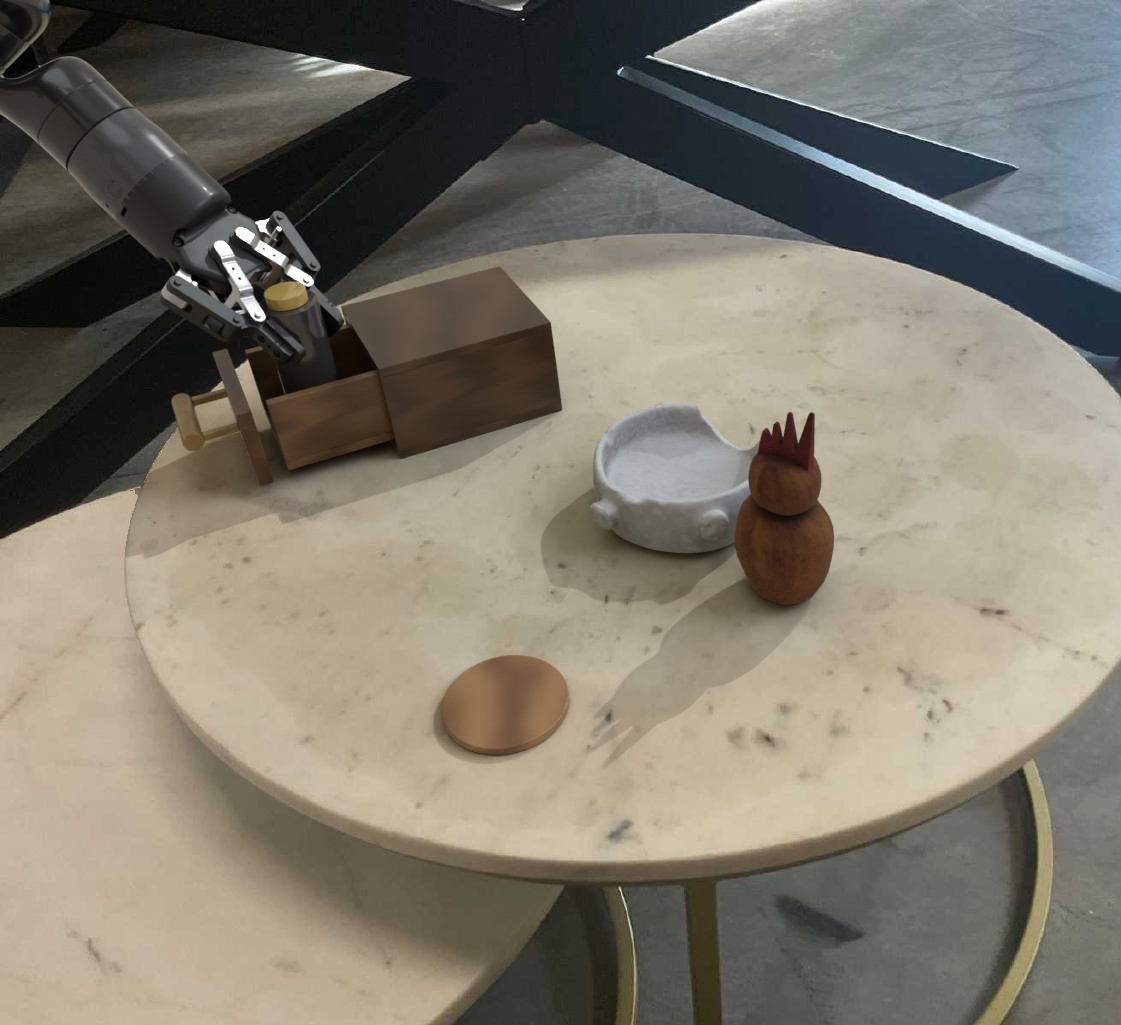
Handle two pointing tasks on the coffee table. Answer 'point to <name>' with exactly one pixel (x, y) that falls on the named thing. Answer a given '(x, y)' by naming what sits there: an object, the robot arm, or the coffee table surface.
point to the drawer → (296, 409)
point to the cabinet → (458, 358)
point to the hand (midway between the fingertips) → (318, 344)
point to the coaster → (505, 704)
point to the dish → (670, 480)
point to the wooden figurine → (785, 518)
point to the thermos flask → (301, 335)
